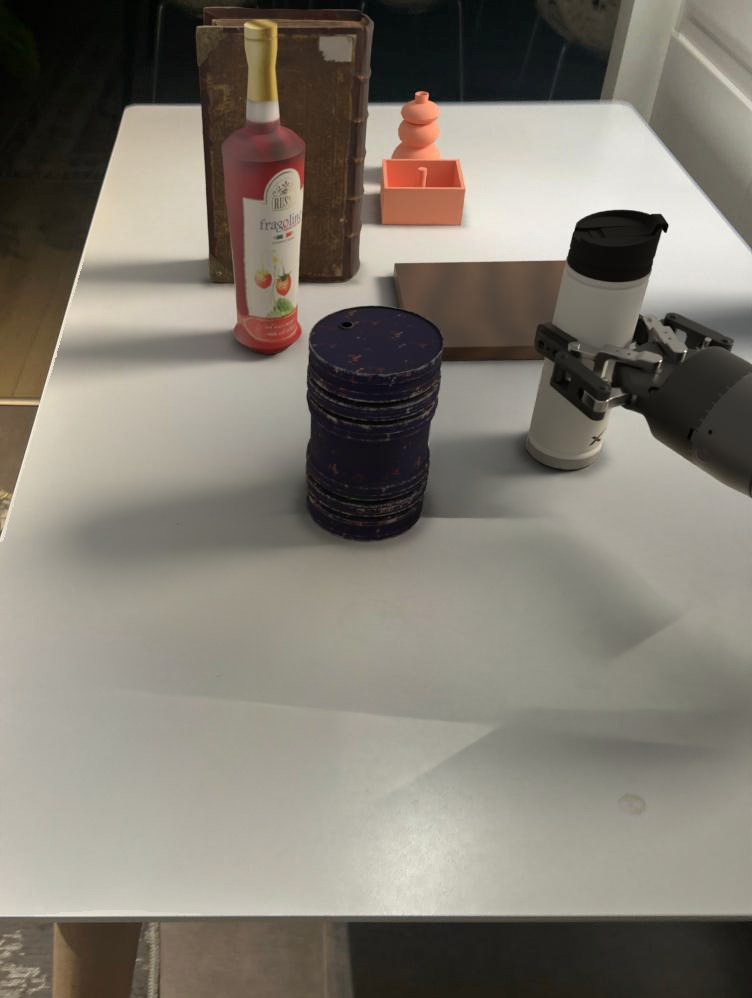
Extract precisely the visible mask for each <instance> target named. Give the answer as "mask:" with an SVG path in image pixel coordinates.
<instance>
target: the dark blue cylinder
mask: <svg viewBox="0 0 752 998" xmlns="http://www.w3.org/2000/svg"><path fill="white" fill-rule="evenodd" d="M443 348H444V338H443V335H442V332H441V331H440V329H439V328H438V327H437V326H436V325H435V324H434V323H433V322H431V321H430V320H429V319H427V318H425V317H423V316H421V315H419V314H417V313H414V312H412V311H408V310H405V309H401V308H400V307H395V306H387V305H358V306H352V307H346V308H343V309H339V310H336V311H333V312H331V313H329V314H327V315H325V316H323V317H322V318H320V319H319V320H317V322H316V323H315V324H314V325H313V326H312V327H311V328H310V332H309V333H308V364H307V367H306V388H307V390H306V403H307V408H308V412H309V414H310V425H309V427H310V428H309V429H310V433H309V434H310V435H309V436H310V437H309V439H308V442H307V445H306V451H305V468H304V469H305V474H304V475H305V477H304V478H305V484H306V498H305V500H306V501H305V502H306V503H305V504H306V510H307V512H308V514H309V517H310V518H311V520H312V521H313V522H314V523H315V524H316V525H317V526H318V527H319V528H320V529H322V530H324V531H325V532H327V533H328V534H330V535H332V536H336V537H337V538H341V539H344V540H347V541H348V540H349V541H353V542H363V543H365V542H367V543H368V542H369V543H370V542H380V541H386V540H390V539H394V538H397V537H399V536H401V535H404V534H405V533H406V532H408V531H410V530H411V529H412V528H414V526H416V524H417V523H418V522H419V520H420V519H421V516H422V514H423V510H424V498H425V495H426V490H427V487H428V481H429V475H430V466H431V449H430V447H429V446H430V445H429V439H430V431H431V425H432V424H431V423H432V420H433V419H434V417H435V415H436V411H437V409H438V405H439V393H440V390H441V383H442V382H441V381H442V370H441V368H442V363H443V361H442V360H441V358H442V354H443Z"/></svg>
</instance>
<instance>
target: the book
mask: <svg viewBox="0 0 752 998" xmlns="http://www.w3.org/2000/svg"><path fill="white" fill-rule="evenodd" d="M202 9H203V10H202V17H203V18H202V19H203V25H197V26H196V27H195V46H196V47H195V48H196V61H197V67H198V73H199V75H198V76H199V92H200V94H199V95H200V106H201V107H200V110H201V126H202V127H201V128H202V129H201V130H202V132H201V133H202V146H203V160H204V162H203V163H204V180H205V181H204V182H205V202H206V203H205V204H206V220H207V221H206V223H207V240H208V270H209V273H208V274H209V280H210V282H214V283H215V282H218V283H235V281H234V270H233V258H232V247H231V238H230V230H229V221H228V212H227V203H226V191H225V179H224V168H223V158H222V147H221V146H222V144H223V142H224V141H225V140H226V139H227V138H228V137H229V136H230V135H231V134H232V133H233V132H235V131H236V130H238V129H240V128H242V127H245V126H246V108H247V89H248V70H249V67H248V62H247V57H246V51H245V38H244V24H245V23H246V22H248V21H252V20H272V21H275V22H276V23H277V45H278V48H277V56H276V64H275V71H276V82H277V94H278V105H279V116H280V125H281V126H284V127H286V128H289V129H291V130H292V131H293V132H295V133H296V134H297V135H298V136H299V137H300V138H301V139H302V140H303V141H304V142H305V163H304V187H303V208H302V223H301V237H300V254H299V278H298V281H308V282H316V283H344V282H345V281H347V280H351V279H352V278H354V277H355V276H356V275H358V272H359V270H360V267H361V261H360V241H361V232H362V228H363V222H362V209H363V196H364V193H365V187H364V173H365V171H364V170H365V160H366V156H367V149H366V143H367V142H366V141H367V126H368V119H369V116H370V113H369V108H368V107H369V89H370V78H371V76H372V69H371V58H372V57H371V56H372V45H373V35H374V28H375V22H374V21H373V20H372V19H371V18H370V16H369V15H368V14H366V13H363V12H362V11H360V10H359V9H345V8H344V9H341V8H340V9H338V8H337V9H330V8H327V9H326V8H324V9H323V8H322V9H297V8H296V9H295V8H294V9H293V8H252V7H251V8H248V7H241V6H207V7H203V8H202Z"/></svg>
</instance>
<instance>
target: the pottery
mask: <svg viewBox="0 0 752 998" xmlns="http://www.w3.org/2000/svg"><path fill="white" fill-rule="evenodd" d="M429 94H430V93H429V92H428V91H417V92H415V94H414V99H413V100H410V101H408V102H406V103H405V104H404V105H403V106H402V107H401V109H400V115H401V117H402V119H403V120H401V122H400V123H399V126H398V128H397V136H398V137H399V138H398V139H399V140H400V141H401V142H400V143H399V144H398V145H397V146H396V147H395V149H393V151H392V154H391V157H390V158H382V161H381V174H380V175H381V176H380V189H379V197H380V198H379V199H380V213H381V215H380V216H381V225H414V226H415V225H426V226H427V225H428V226H429V225H432V226H461V225H462V220H463V219H462V218H463V211H464V203H465V197H466V185H465V181H464V175H463V170H462V165H461V162H460V158H459V159H456V158H455V159H454V158H449V159H448V158H442V156H441V152H440V151H439V150H440V149H439V148H438V147H437V145H436V144H435V142H436V141H437V140H438V138H439V135H440V125H439V124H438V122H437V120H438V118H439V117H440V115H441V111H440V106H438V105H437V104H436V103H435V102H433V101H431V100H429V97H430V95H429Z"/></svg>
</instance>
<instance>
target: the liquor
mask: <svg viewBox="0 0 752 998" xmlns="http://www.w3.org/2000/svg"><path fill="white" fill-rule="evenodd" d="M244 38H245V51H246V57H247V62H248V67H249V70H248V89H247V108H246V126H245V127H242V128H240V129H238V130H236V131H235V132H233V133H232V134H231V135H230V136H229V137H228V138H227V139H226V140H225V141H224V142H223V144H222V146H221V147H222V158H223V168H224V179H225V191H226V203H227V212H228V221H229V230H230V238H231V247H232V258H233V270H234V281H235V282H234V291H235V304H236V306H235V307H236V320H237V322H236V324H235V326H233V327H234V328H233V336H234V338H235V339H236V340H237V341H238V342H239V343H240V344H242V345H243V346H244V347H245V348H248V349H249V350H250V351H252V352H254V353H257V354H261V355H262V354H263V355H273V354H278V353H281V352H283V351H285V350H287V349H288V348H289V347H290V346H292V344H294V343H295V342H296V341H297V340H299V338H300V337H301V335H302V332H303V329H302V326H301V324H300V322H299V321H298V309H299V308H298V307H299V304H298V303H299V280H298V278H299V254H300V237H301V223H302V208H303V187H304V163H305V142H304V141H303V140H302V139H301V138H300V137H299V136H298V135H297V134H296V133H295V132H293V131H292V130H291V129H289V128H286V127H284V126H281V125H280V116H279V105H278V94H277V82H276V71H275V64H276V56H277V48H278V45H277V23H276V22H275V21H272V20H252V21H248V22H246V23H245V24H244Z"/></svg>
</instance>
